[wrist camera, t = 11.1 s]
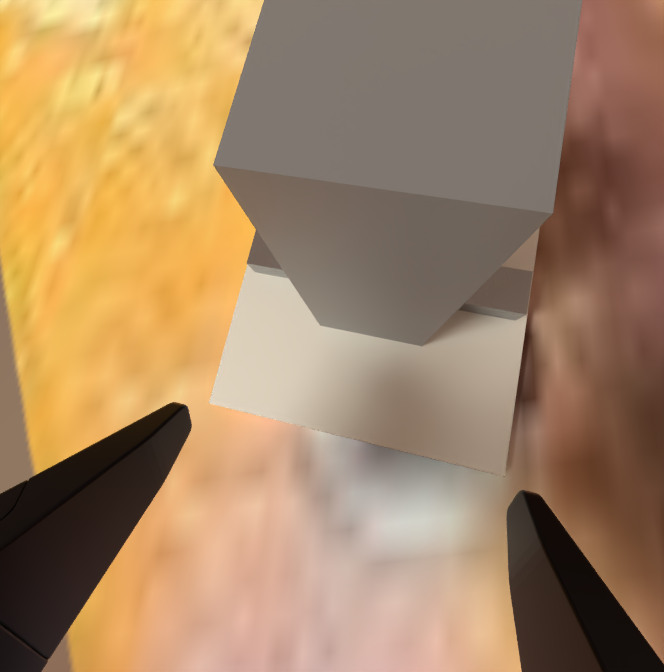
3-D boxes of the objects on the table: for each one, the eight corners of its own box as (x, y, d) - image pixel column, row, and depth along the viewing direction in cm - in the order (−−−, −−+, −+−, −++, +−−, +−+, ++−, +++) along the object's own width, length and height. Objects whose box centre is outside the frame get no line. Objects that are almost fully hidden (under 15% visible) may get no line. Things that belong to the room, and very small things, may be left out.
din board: (499, 473, 16) (504, 476, 15) (214, 403, 18) (208, 403, 17) (544, 160, 18) (550, 152, 17) (289, 129, 20) (287, 121, 19)
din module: (421, 346, 16) (552, 213, 5) (320, 325, 17) (212, 165, 5) (443, 227, 17) (600, -133, 6) (346, 212, 18) (306, -136, 6)
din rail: (515, 320, 16) (526, 314, 15) (254, 272, 18) (246, 263, 17) (521, 280, 16) (532, 271, 15) (264, 236, 18) (257, 225, 17)
